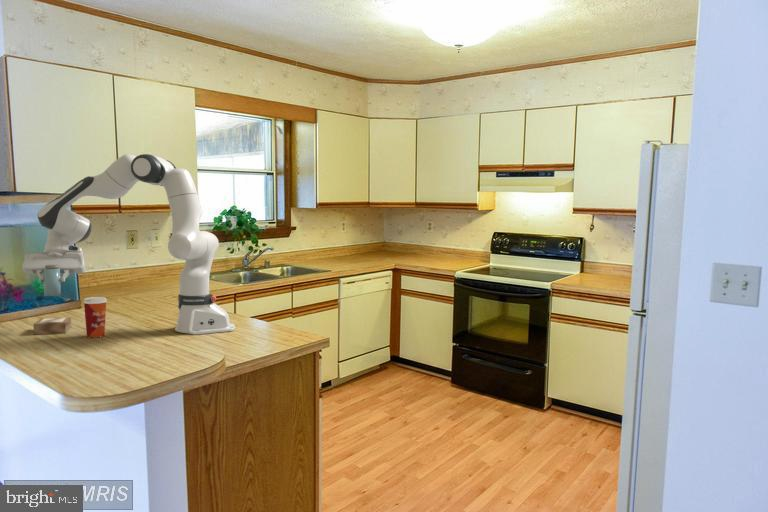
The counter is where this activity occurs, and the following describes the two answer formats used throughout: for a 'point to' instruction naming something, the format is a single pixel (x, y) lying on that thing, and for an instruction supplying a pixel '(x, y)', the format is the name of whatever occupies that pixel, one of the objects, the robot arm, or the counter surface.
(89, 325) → the paper cup
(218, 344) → the counter surface
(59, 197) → the robot arm
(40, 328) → the base
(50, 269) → the jar
